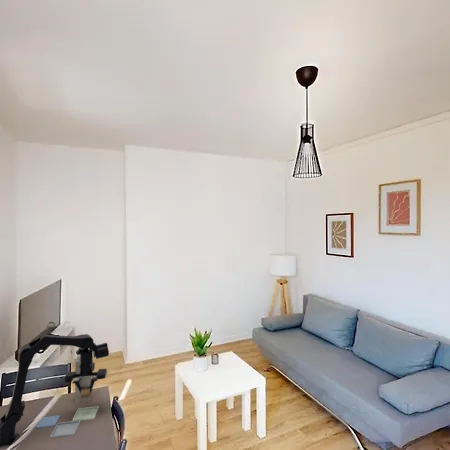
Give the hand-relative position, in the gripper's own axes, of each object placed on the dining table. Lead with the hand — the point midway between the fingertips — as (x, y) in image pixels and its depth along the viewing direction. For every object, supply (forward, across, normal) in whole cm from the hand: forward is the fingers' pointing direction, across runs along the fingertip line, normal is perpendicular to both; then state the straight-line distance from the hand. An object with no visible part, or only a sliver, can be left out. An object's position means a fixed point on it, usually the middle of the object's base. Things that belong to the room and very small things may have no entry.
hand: (86, 392), depth 151 cm
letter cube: (+2, 0, 0) cm, 2 cm away
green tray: (+11, 0, 0) cm, 11 cm away
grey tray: (+11, +6, +11) cm, 17 cm away
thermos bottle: (+11, +5, -15) cm, 19 cm away
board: (+11, +16, +3) cm, 20 cm away
